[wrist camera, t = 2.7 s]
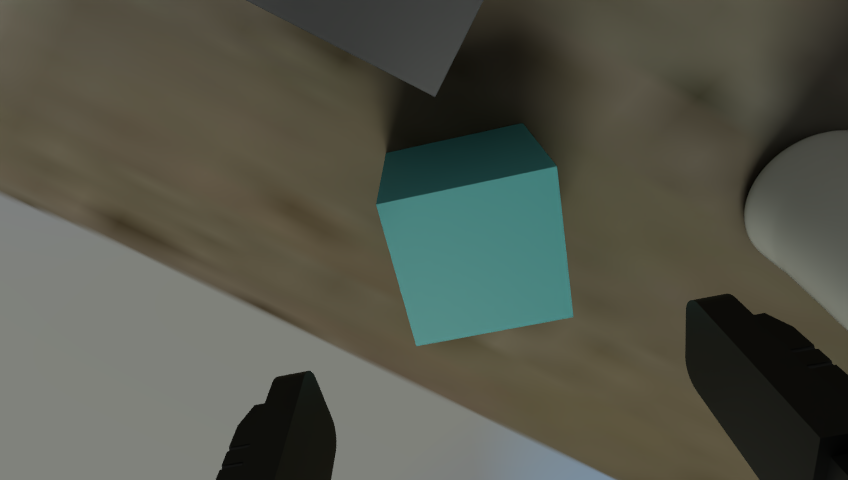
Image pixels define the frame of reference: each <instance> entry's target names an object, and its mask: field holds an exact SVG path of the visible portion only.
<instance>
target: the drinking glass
mask: <svg viewBox="0 0 848 480" xmlns="http://www.w3.org/2000/svg"><path fill="white" fill-rule="evenodd" d="M744 224H745V228H746V232H747V234H748V237H749V239H750V241H751V242H752V244H753V245H754V246H755V248H756V249H757V250H758V251H759V252H760V253H761V254H762V255H763V256H765V257H766V258H767V259H768V260H770V261H771V262H772V263H773V264H775V265H776V266H777V267H779V268H780V269H781V270H783V271H784V272H785V273H786V274H788V275H789V276H790V277H791V278H792V279H793V280H794V281H795V282H796V283H797V284H798V285H799V286H801V287H802V288H803V289H804V290H805V291H806V292H807V293H808V294H809V295H810V296H811V297H812V298H813V299H814V300H815V301H816V302H818V303H819V304H820V305H821V306H822V307H823V308H824V309H825V310H826V311H827V312H828V313H829V314H830V315H831V316H832V317H833V318H834V319H835V320H836V321H837V322H839V323H840V324H841V325H842V326H843V327H844V328H845V329H846V330H847V331H848V130H836V131H829V132H823V133H819V134H816V135H813V136H810V137H807V138H805V139H802V140H800V141H798V142H796V143H794V144H793V145H791V146H789V147H788V148H786V149H785V150H783V151H782V152H780V153H779V154H778V155H777V156H776V157H774V158H773V159H772V160H771V161H770V162H769V163H768V164H767V165H766V166H765V167H764V169H763V170H762V171H761V172H760V174H759V175H758V176H757V178H756V179H755V181H754V183H753V185H752V186H751V189H750V191H749V193H748V196H747V199H746V203H745V209H744Z"/></svg>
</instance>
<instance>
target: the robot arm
mask: <svg viewBox="0 0 848 480" xmlns="http://www.w3.org/2000/svg"><path fill="white" fill-rule="evenodd" d="M685 358H686V366H687V370H688V374H689V377H690V379H691V382H692V384H693V386H694V387H695V389H696V391H697V392H698V393H699V395H700V396H701V398H702V399H703V401H704V402H705V403H706V405H707V406H708V408H709V409H710V410H711V412H712V413H713V415H714V416H715V417H716V419H717V420H718V422H719V423H720V425H721V426H722V427H723V429H724V430H725V432H726V433H727V434H728V436H729V437H730V439H731V440H732V441H733V443H734V444H735V446H736V447H737V449H738V450H739V451H740V453H741V454H742V456H743V457H744V458H745V460H746V461H747V463H748V464H749V466H750V467H751V468H752V470H753V471H754V473H755V474H756V475H757V477H758V478H759V480H848V375H847V374H846V373H845V372H844V371H843V370H842V369H840V368H839V367H838V366H837V365H833V364H832V361H831V360H830V359H829V358H828V357H827V356H826V355H825V354H823V353H822V352H821V351H820V350H819V349H815V348H814V345H813V344H812V343H811V342H810V341H809V340H808V339H806V338H805V337H804V336H803V335H802V334H801V333H800V332H799V331H797V330H796V329H795V328H794V327H793V326H791V325H788V324H786V323H784V322H782V321H780V320H778V319H776V318H774V317H772V316H770V315H768V314H765V313H762V314H757V315H753V314H752V313H751V312H750V311H749V310H748V309H747V308H746V307H745V306H744V305H743V304H742V303H741V302H739V301H738V300H737V299H736V298H735V297H734V296H733V295H731V294H723V295H717V296H712V297H707V298H701V299H696V300H691V301H689V302H688V303H687V307H686V352H685ZM335 453H336V432H335V426H334V422H333V420H332V417H331V415H330V412H329V410H328V407H327V405H326V402H325V400H324V397H323V395H322V392H321V390H320V387H319V385H318V383H317V381H316V378H315V376H314V374H313V373H312V372H311V371H306V372H301V373H295V374H289V375H285V376H279V377H276V378H275V379H274V380H273V382H272V385H271V388H270V390H269V393H268V396H267V399H266V401H265V403H264V404H259V405H254V407H253V408H252V409H251V411H249V413H248V414H247V415H246V416H245V418H244V419H243V420H242V421H241V423H240V424H239V425H238V427H237V429H236V431H235V434H234V436H233V439H232V441H231V444H230V446H229V451H228V452H227V453H226V456H225V459H224V461H223V464H222V470H220V471H219V473H218V475H217V478H216V480H331V476H332V469H333V464H334V458H335Z"/></svg>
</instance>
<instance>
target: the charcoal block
mask: <svg viewBox="0 0 848 480" xmlns="http://www.w3.org/2000/svg"><path fill="white" fill-rule="evenodd" d="M247 1H249V2H251V3H253V4H254V5H256V6H258V7H260V8H262V9H264V10H266V11H268V12H270V13H272V14H274V15H276V16H278V17H280V18H282V19H284V20H286V21H288V22H290V23H292V24H294V25H295V26H297V27H299V28H301V29H303V30H305V31H307V32H309V33H311V34H313V35H315V36H317V37H319V38H321V39H323V40H325V41H327V42H329V43H331V44H333V45H334V46H336V47H338V48H340V49H342V50H344V51H346V52H348V53H350V54H352V55H354V56H356V57H358V58H360V59H362V60H364V61H366V62H368V63H370V64H372V65H374V66H375V67H377V68H379V69H381V70H383V71H385V72H387V73H389V74H391V75H393V76H395V77H397V78H399V79H401V80H403V81H405V82H407V83H409V84H411V85H413V86H415V87H416V88H418V89H420V90H422V91H424V92H426V93H428V94H430V95H432V96H434V97H435V96H436V94H437V92H438V90H439V88H440V86H441V84H442V82H443V80H444V78H445V76H446V74H447V72H448V70H449V68H450V66H451V64H452V62H453V60H454V58H455V56H456V54H457V52H458V50H459V48H460V46H461V44H462V42H463V40H464V38H465V36H466V34H467V32H468V30H469V28H470V26H471V24H472V22H473V20H474V18H475V16H476V14H477V12H478V10H479V8H480V6H481V4H482V2H483V0H247Z"/></svg>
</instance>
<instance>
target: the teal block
mask: <svg viewBox="0 0 848 480" xmlns="http://www.w3.org/2000/svg"><path fill="white" fill-rule="evenodd" d="M376 206H377V209H378V213H379V216H380V220H381V223H382V227H383V230H384V234H385V237H386V241H387V244H388V248H389V251H390V255H391V258H392V262H393V265H394V269H395V272H396V276H397V279H398V283H399V286H400V290H401V294H402V297H403V301H404V304H405V308H406V311H407V315H408V318H409V322H410V325H411V329H412V332H413V336H414V339H415V343H416V346H420V345H425V344H431V343H436V342H441V341H447V340H452V339H458V338H463V337H468V336H474V335H479V334H484V333H490V332H495V331H501V330H506V329H511V328H517V327H522V326H528V325H533V324H538V323H544V322H549V321H555V320H560V319H565V318H571V317H573V310H572V301H571V292H570V283H569V273H568V264H567V255H566V246H565V236H564V227H563V218H562V209H561V199H560V190H559V181H558V172H557V166H556V165H555V163H554V162H553V161H552V159H551V158H550V157H549V156H548V154H547V153H546V152H545V151H544V149H543V148H542V147H541V146H540V144H539V143H538V142H537V141H536V139H535V138H534V137H533V135H532V134H531V133H530V132H529V130H528V129H527V128H526V127H525V125H524V124H523V123H520V124H516V125H511V126H507V127H502V128H498V129H493V130H489V131H484V132H479V133H475V134H470V135H466V136H461V137H457V138H452V139H448V140H443V141H439V142H434V143H429V144H425V145H420V146H416V147H411V148H407V149H402V150H398V151H393V152H389V153H386V156H385V161H384V166H383V172H382V177H381V182H380V187H379V192H378V198H377V203H376Z"/></svg>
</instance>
